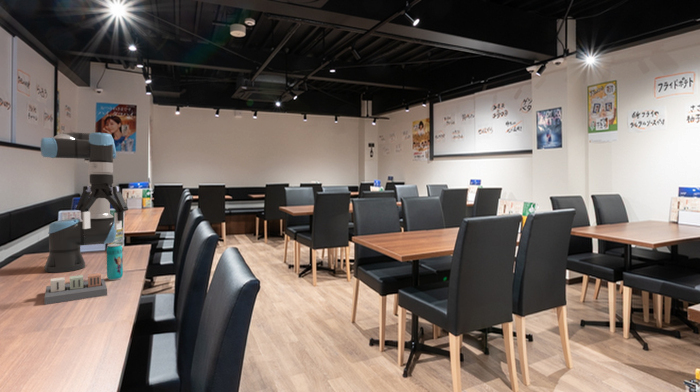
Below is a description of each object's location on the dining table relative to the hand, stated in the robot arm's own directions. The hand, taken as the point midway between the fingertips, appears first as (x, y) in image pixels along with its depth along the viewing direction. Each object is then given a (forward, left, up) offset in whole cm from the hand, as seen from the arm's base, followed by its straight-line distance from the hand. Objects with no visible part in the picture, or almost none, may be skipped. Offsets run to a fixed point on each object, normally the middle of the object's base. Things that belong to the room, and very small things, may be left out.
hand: (102, 229), depth 141 cm
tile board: (-1, -8, -24) cm, 25 cm away
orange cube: (-1, -3, -21) cm, 22 cm away
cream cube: (-1, -14, -22) cm, 26 cm away
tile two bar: (-1, -8, -21) cm, 23 cm away
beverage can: (-16, +5, -24) cm, 30 cm away
